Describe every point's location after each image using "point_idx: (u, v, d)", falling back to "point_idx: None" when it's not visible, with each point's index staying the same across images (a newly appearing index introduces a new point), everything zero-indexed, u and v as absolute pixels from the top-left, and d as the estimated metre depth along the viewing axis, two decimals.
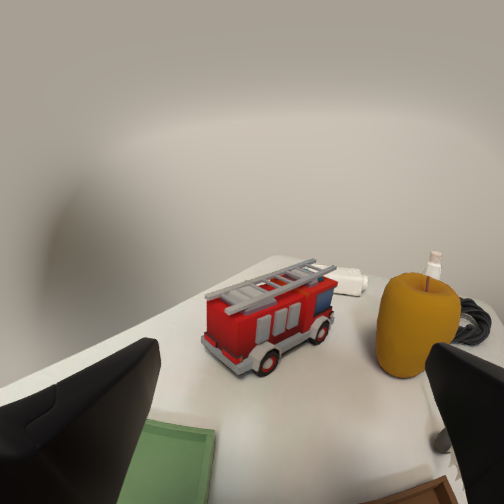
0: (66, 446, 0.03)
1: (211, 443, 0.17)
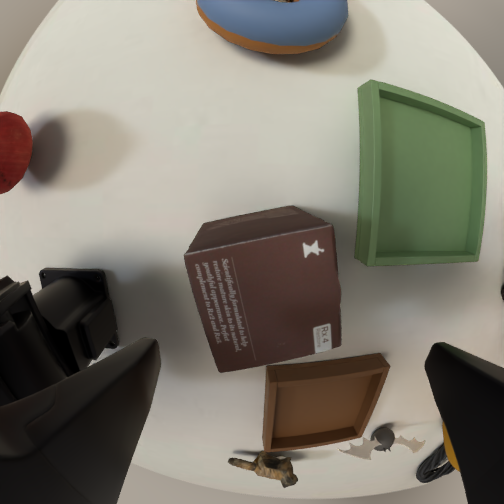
0: (66, 446, 0.03)
1: (468, 261, 0.17)
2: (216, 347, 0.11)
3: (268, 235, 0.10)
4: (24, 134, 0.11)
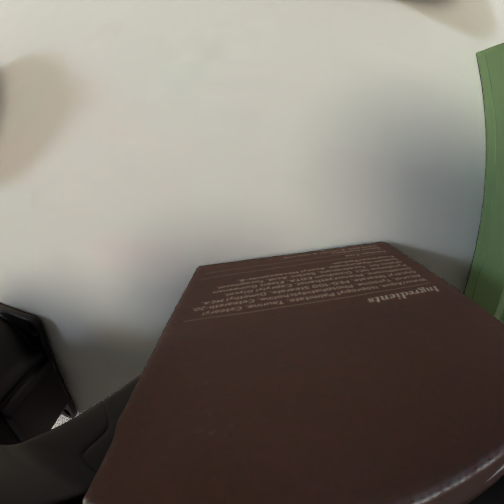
0: None
1: None
2: None
3: (438, 481, 0.01)
4: None
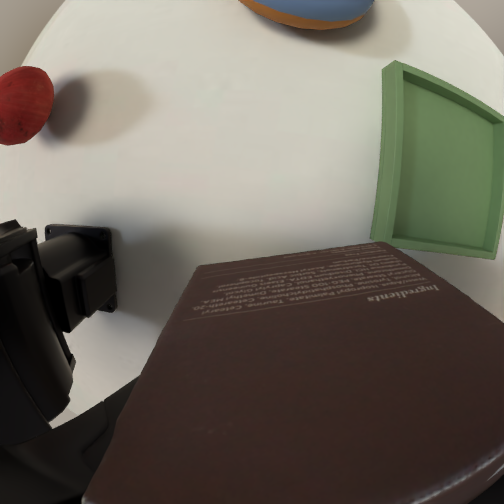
0: None
1: (485, 257, 0.15)
2: None
3: (436, 480, 0.01)
4: (46, 87, 0.11)
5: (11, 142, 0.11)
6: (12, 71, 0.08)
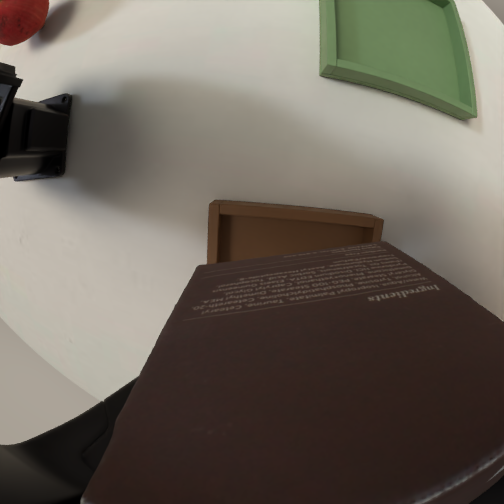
0: None
1: (464, 109, 0.12)
2: None
3: (439, 480, 0.01)
4: None
5: (8, 37, 0.08)
6: None
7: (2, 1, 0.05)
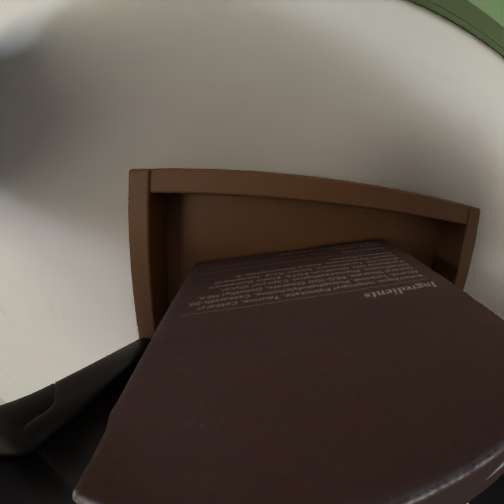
0: (64, 445, 0.03)
1: None
2: None
3: (434, 478, 0.01)
4: None
5: None
6: None
7: None
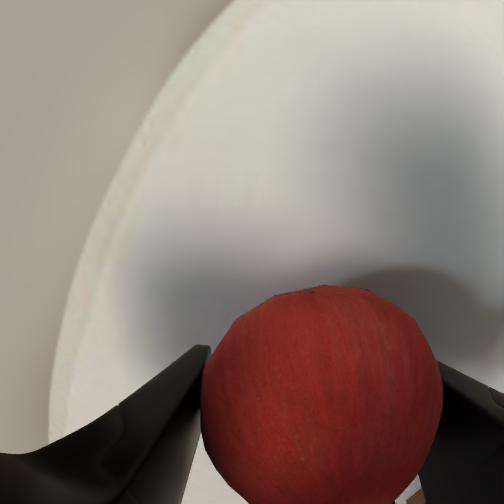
0: (148, 475, 0.03)
1: None
2: None
3: None
4: None
5: None
6: (417, 400, 0.03)
7: None
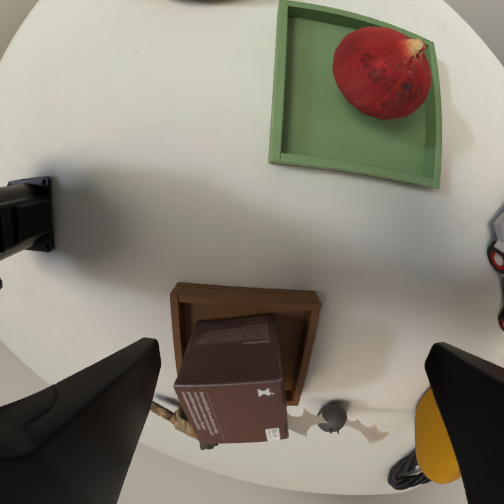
0: (66, 446, 0.03)
1: (423, 183, 0.15)
2: (197, 431, 0.14)
3: (232, 382, 0.13)
4: None
5: (393, 116, 0.12)
6: None
7: None
